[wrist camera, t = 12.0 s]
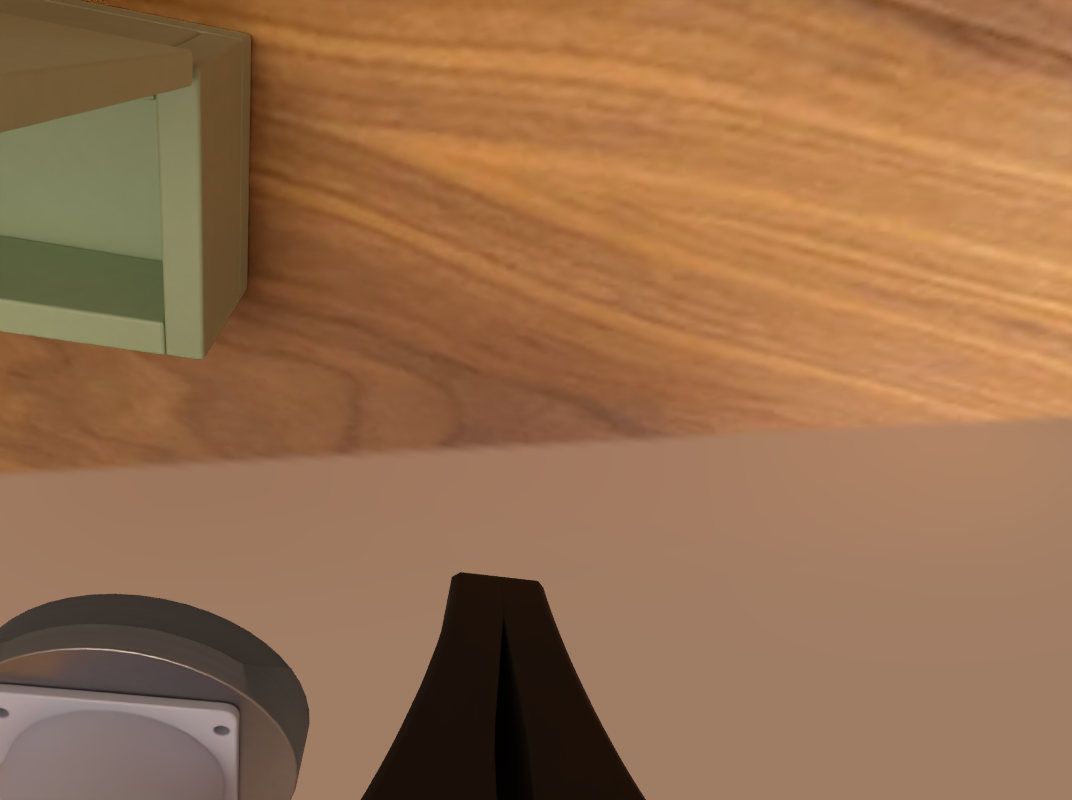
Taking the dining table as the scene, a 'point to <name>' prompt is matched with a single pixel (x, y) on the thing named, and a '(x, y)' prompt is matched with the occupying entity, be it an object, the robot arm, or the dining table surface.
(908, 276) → the dining table surface
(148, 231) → the box
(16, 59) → the lid
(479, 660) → the robot arm
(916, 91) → the dining table surface
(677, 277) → the dining table surface
